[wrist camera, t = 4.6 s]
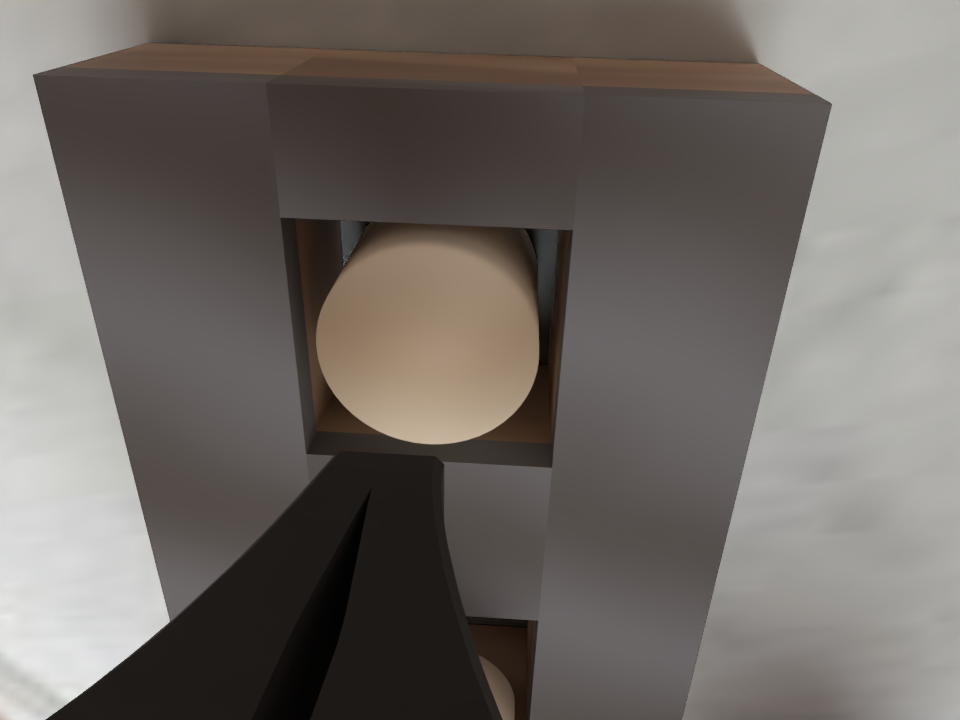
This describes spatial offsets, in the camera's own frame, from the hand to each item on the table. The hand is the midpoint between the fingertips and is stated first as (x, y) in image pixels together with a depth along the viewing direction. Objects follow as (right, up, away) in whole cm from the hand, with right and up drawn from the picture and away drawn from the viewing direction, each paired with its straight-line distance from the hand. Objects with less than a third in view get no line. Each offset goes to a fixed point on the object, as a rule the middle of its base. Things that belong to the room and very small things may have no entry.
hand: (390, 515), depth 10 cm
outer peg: (0, +4, +7) cm, 8 cm away
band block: (0, 0, +9) cm, 9 cm away
